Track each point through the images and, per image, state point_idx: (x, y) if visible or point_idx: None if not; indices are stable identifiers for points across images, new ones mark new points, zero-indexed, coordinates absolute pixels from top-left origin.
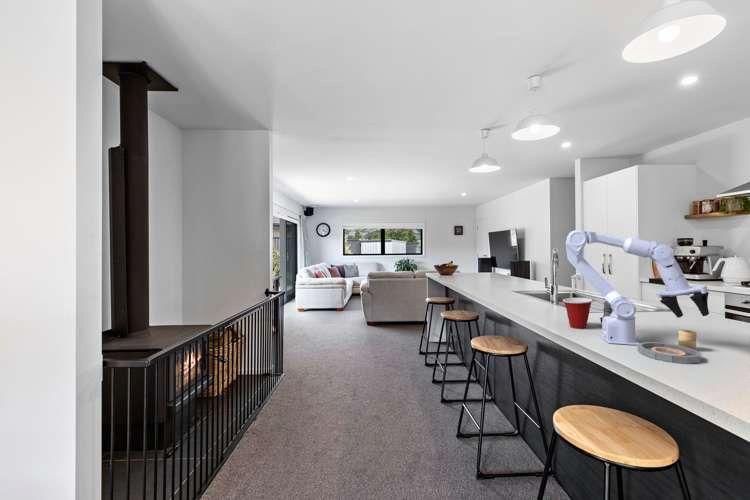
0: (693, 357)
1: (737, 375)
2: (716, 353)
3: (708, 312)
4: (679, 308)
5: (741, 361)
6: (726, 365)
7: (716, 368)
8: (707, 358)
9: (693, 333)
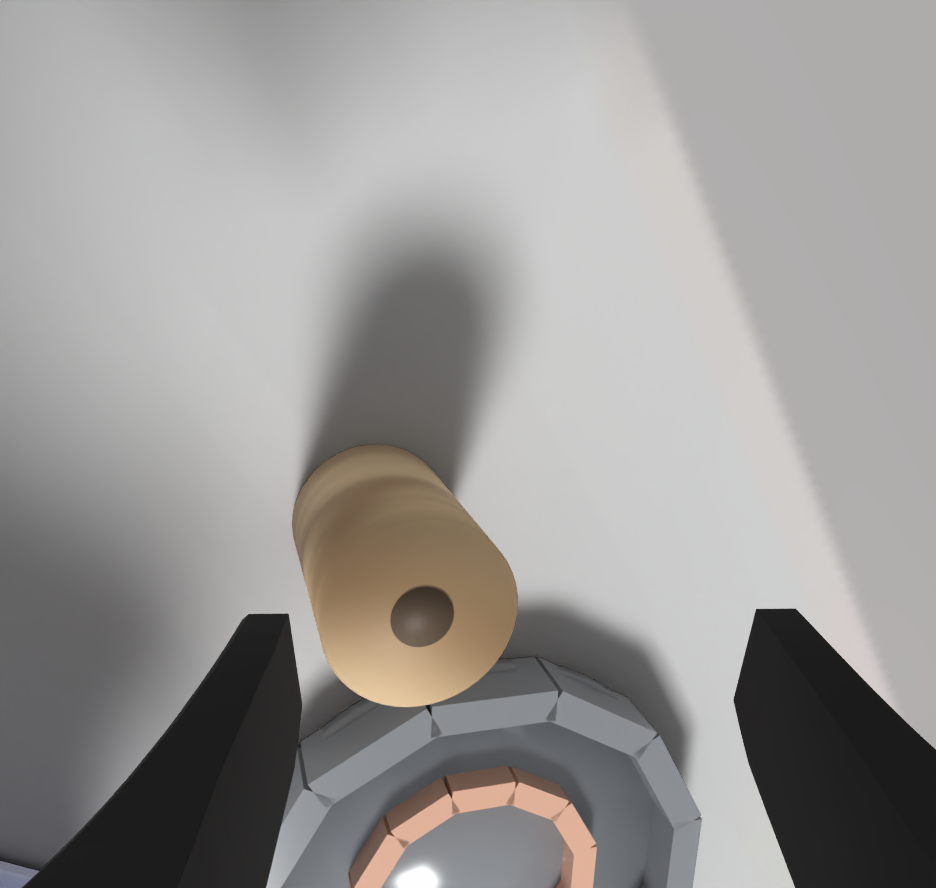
0: (689, 872)
1: None
2: (559, 366)
3: (812, 636)
4: (244, 752)
5: (768, 409)
6: None
7: None
8: (624, 612)
9: (511, 625)
